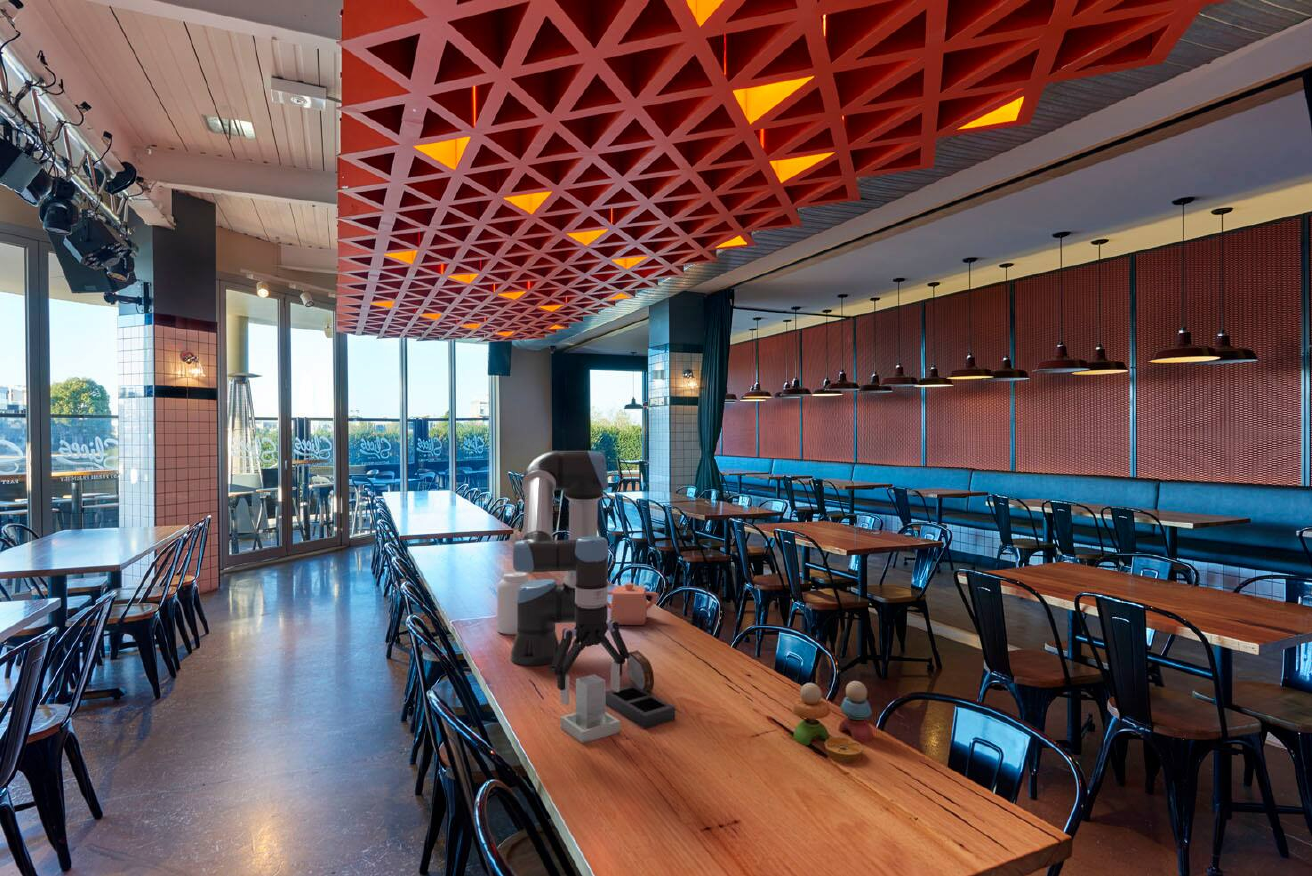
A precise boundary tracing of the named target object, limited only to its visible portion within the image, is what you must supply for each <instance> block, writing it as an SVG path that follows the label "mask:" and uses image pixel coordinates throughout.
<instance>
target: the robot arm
mask: <svg viewBox="0 0 1312 876" xmlns="http://www.w3.org/2000/svg"><path fill="white" fill-rule="evenodd" d="M607 468H608V467H607V463H606V457H605V455H604V453H603V452H601V451H595V450H589V449H588V450H550V451H546V452H544V453H542V454H540V455H539V456H537V457H536V458H535V459H533V460H532V461H531V462H530V463H529V464H528V466H527V467H526V469H525V470H524V473H523V476H522V481H521V488H522V490H523V492H524V507H523V508H524V509H523V510H524V511H523V523H522V526H523V527H522V540H517V541H515V542H514V543H513V545H512V546H513V549H512V567H513V570H514V572H525V573H532V574H533V573H542V572H543V573H544V572H545V573H547V572H567V573H568V574H567V575H565V576H564V578H563V579H562V584H557V582H556V580H555V579H553V578H543V579H542V578H541V579H535V580H531V581H530V582H527V583H525V584H523V585H521V586H520V587H519V589H518V597H517V603H518V605H517V634H515V639H514V642H513V644H512V647H511V650H510V661H512V662H513V663H515V664H518V665H522V666H543V665H549V664H551V665H550V667H549V672H550V673H552V674H553V675H555V676H557V683H556V685H557V689H558V690H559V691H560V702H561V703H562V704H563V705H565V706H570V675H569V674H568V672H569V670H571V667H572V666H573V665H574V663H575V662H576V660H577V658H578V657H579V655H580V653H581V652H582V651H583V650H585V647H592V646H598V645H600V644H601V645H602V647H603V648H604V649H605V650H606V651H607V653H608V654H609V656H610V657H612V659H613V660H612V661H610V690H614V691H615V692H619V688H620V682H621V681H620V679H621V678H620V677H622V675H623V665H624V664H625V663H626V660H627V659H628V658H629V657H630V655H629V651H628V648H627V646H626V643H625V642H624V639H623V636H622V634H621V631H620V625H619V624H618V622H615V621H613V620H611V619H610V620H609V621H608V615H609V614H608V613H609V611H608V609H609V608H608V606H607V605H606V603H607V601H608V595H607V594H608V591H609V590H608V585H609V583H608V570H609V555H610V554H609V553H610V551H609V541H608V539H607V538H606V537H602V536H598V516H599V515H598V514H599V513H598V511H599V510H598V509H599V508H598V507H599V500H600V499H602V498H603V497H604V491H606V490H607V491H608V489H609V477H608V469H607ZM555 491H564V492H563V493H564V494H563V495H564V497H565V498H566V499H567V500H568V501H569V503H568V505H569V506H568V508H569V509H568V513H569V514H568V539H565V540H564V539H561V540H559V539H556V540H555V539H554V540H553V528H554V527H553V517H554V516H553V515H554V514H553V512H554V511H553V501H554V500H553V497H554V496H553V493H554V492H555ZM571 623H573V624H575V626H574V628H573V629H567V628H564V629H563V630H562V632H561V634H562V635H561V640H560V641H559V640H558V636H557V632H556V624H571ZM608 631H609V633H610V635H611V638H612V640H613V642H614V644H615V647H616V648H615V647H614V646H613V644H612V642H611V641H610V640H609V639H608V637H607V636H606V633H607V632H608ZM574 637H575V639H574ZM572 640H573V642H572ZM616 649H617V650H616Z"/></svg>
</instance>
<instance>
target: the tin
mask: <svg viewBox="0 0 1312 876" xmlns="http://www.w3.org/2000/svg"><path fill="white" fill-rule="evenodd" d="M628 653H629V655H630V657H629V658H628V659H626V662H627V663H626V664H627V668H626V669H627V674H628V676H629V679H630V681H631V682H632V683H633V684H634V685H635V686H637V687H639V688H641V689H643V690H645V691H646V692H648V691H653V689H654V686H655V675H654V671H653V666H652V664H651V661H650V660H649V658H647V657H646V656H645V655H643V653H642V652H641V651H639V650H637V649H636V650H634V651H628Z"/></svg>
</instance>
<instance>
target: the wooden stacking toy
mask: <svg viewBox="0 0 1312 876" xmlns="http://www.w3.org/2000/svg"><path fill="white" fill-rule="evenodd" d="M799 695H800V697H799V698H797V699H796V700H795V701H794V703H793V709H792V711H793V713H794V714H795V715H796V716H797V717H800V718H804V719H803V720H802V721H800V722H799V723H798V724H797V726H796V727H795V729H794V731H793V740H794V741H795V742H797V743H799V745H802V746H809V745H810V744H811V742H812V740H815V739H816V736H819V737H820V738H821V739H823V740H824V748H825V751H826V755H827V756H828V758H830V759H831V760H833V761H836V762H838V763H843V764H844V763H845V764H853V763H857V762H859V761H860V760H861V757H862V754H863V750H864V747H863V745H862V744H864V743H869V742H873V740H874V733H873V729H872V727H871V725H870V724H869V722H868V721H867V720H866V719H868V718H869V717H870V716H872V714H873V713H872V712H873V710H872V709H871V706H870V703H869V701H868V700H867V699H866V698H867V695H868V689H867V688H866V686H865V684H864V683H863V682H861V681H858V680H853V681H850V682H849V683H848V684H847V685H846V688H845V695H846V696H845V697H844V698H843V701H842V702H841V705H840V707H839V708H840V710H841V712H842V714H843V715H844V716H845V718H843V719H842V721H840V723H839V726H838V731H839V732H847V731H849V732H850V734H851V738H852V739H851V738H847V737H840V736H839V737H838V736H837V737H836V736H835V737H830V733H829V731H828V729H827V728H826V726H825V725H824V724H823V723H822V722H820V720H819V719H823V718H827V717H828V716H830V713H831V711H830V707H829V706H830V705H829V704H828V702H827V701H826V700H825V699H823V698H822V696H823V694H822V690H821V688H820V687H819V685H817V684H815V683H813V682H807V683H805V684H803V685H802V686H801V689H800V692H799Z"/></svg>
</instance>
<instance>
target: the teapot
mask: <svg viewBox="0 0 1312 876" xmlns="http://www.w3.org/2000/svg"><path fill="white" fill-rule="evenodd" d="M608 595H612V596H611V601H610V602H609V601H608V600H607V603H606V605H607V606H608V609H609V610H610V620H613V621H615V622H618V624H619V626H643V625H645V624H646V622H647V616H648V610H649V609H651V607H652V606H654V605H655V603H656V602H657V601H658V599H659V593H657V592H655V591H646V587H645V585H635V583H632V582H627V583H624V585H615V586H614V587H613V589H612V590H608V594H607V596H608ZM647 596H651V597H652V598H651V600H650V601H649V603H648V604H647Z"/></svg>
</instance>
